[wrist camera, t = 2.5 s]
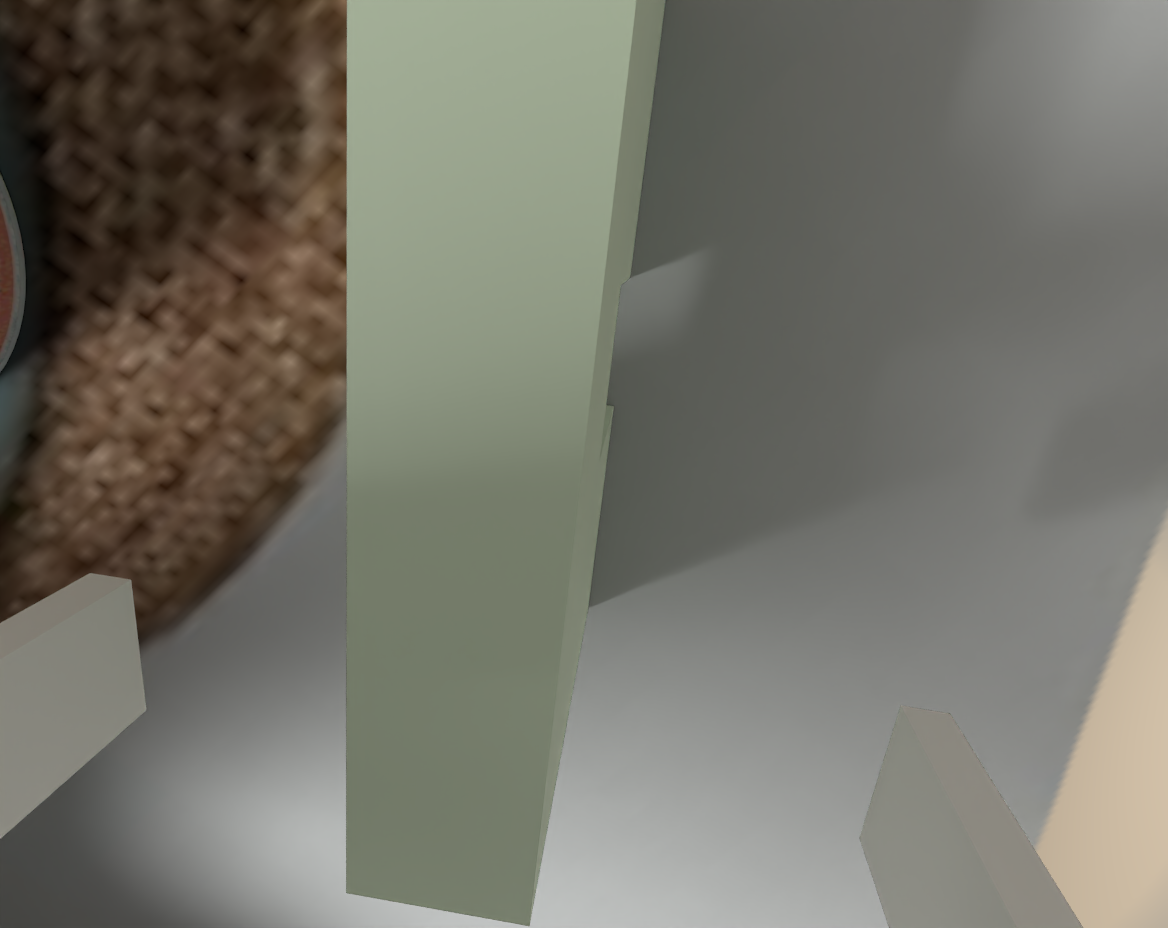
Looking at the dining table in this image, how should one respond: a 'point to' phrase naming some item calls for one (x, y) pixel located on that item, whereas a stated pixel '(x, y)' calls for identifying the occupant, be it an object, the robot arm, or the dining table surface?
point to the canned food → (10, 277)
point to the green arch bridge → (478, 417)
